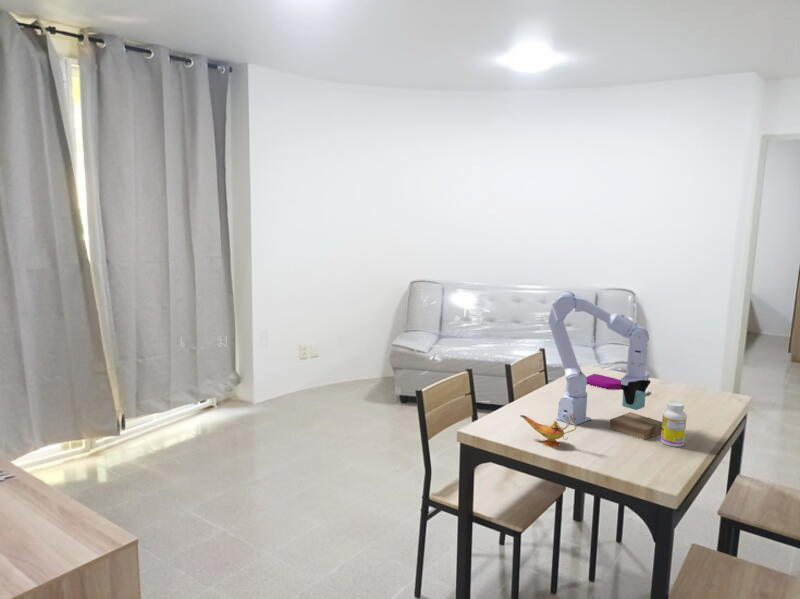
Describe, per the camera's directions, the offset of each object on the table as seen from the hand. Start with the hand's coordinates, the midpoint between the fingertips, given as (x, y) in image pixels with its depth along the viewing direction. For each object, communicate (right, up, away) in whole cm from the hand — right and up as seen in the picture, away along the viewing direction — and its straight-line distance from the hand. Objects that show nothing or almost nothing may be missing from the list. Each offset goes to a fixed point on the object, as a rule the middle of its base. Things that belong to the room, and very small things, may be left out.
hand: (633, 402), depth 188 cm
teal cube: (0, -2, 0) cm, 2 cm away
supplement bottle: (+7, -11, -12) cm, 17 cm away
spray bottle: (+11, -3, +44) cm, 46 cm away
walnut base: (0, -9, -1) cm, 9 cm away
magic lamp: (-32, -10, -12) cm, 36 cm away
